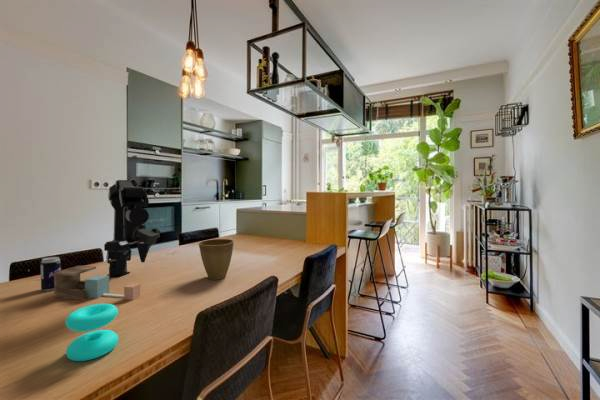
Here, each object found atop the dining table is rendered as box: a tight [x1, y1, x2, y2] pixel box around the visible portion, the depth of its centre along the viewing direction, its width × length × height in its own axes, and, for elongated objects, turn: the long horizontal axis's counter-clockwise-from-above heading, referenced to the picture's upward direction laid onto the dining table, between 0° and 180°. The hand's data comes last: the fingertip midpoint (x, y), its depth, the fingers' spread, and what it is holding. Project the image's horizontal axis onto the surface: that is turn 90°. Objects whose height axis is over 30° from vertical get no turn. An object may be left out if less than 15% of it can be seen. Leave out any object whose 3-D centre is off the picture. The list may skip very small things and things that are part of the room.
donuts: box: [65, 303, 119, 362], centre depth 65 cm, size 10×10×10 cm
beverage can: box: [40, 256, 62, 292], centre depth 105 cm, size 6×6×12 cm
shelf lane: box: [53, 265, 97, 300], centre depth 100 cm, size 9×12×9 cm
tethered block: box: [84, 274, 141, 301], centre depth 98 cm, size 5×18×6 cm, turn 82°
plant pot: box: [198, 238, 235, 281], centre depth 121 cm, size 15×15×16 cm
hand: (133, 265), depth 97 cm, fingers open, 9 cm apart
